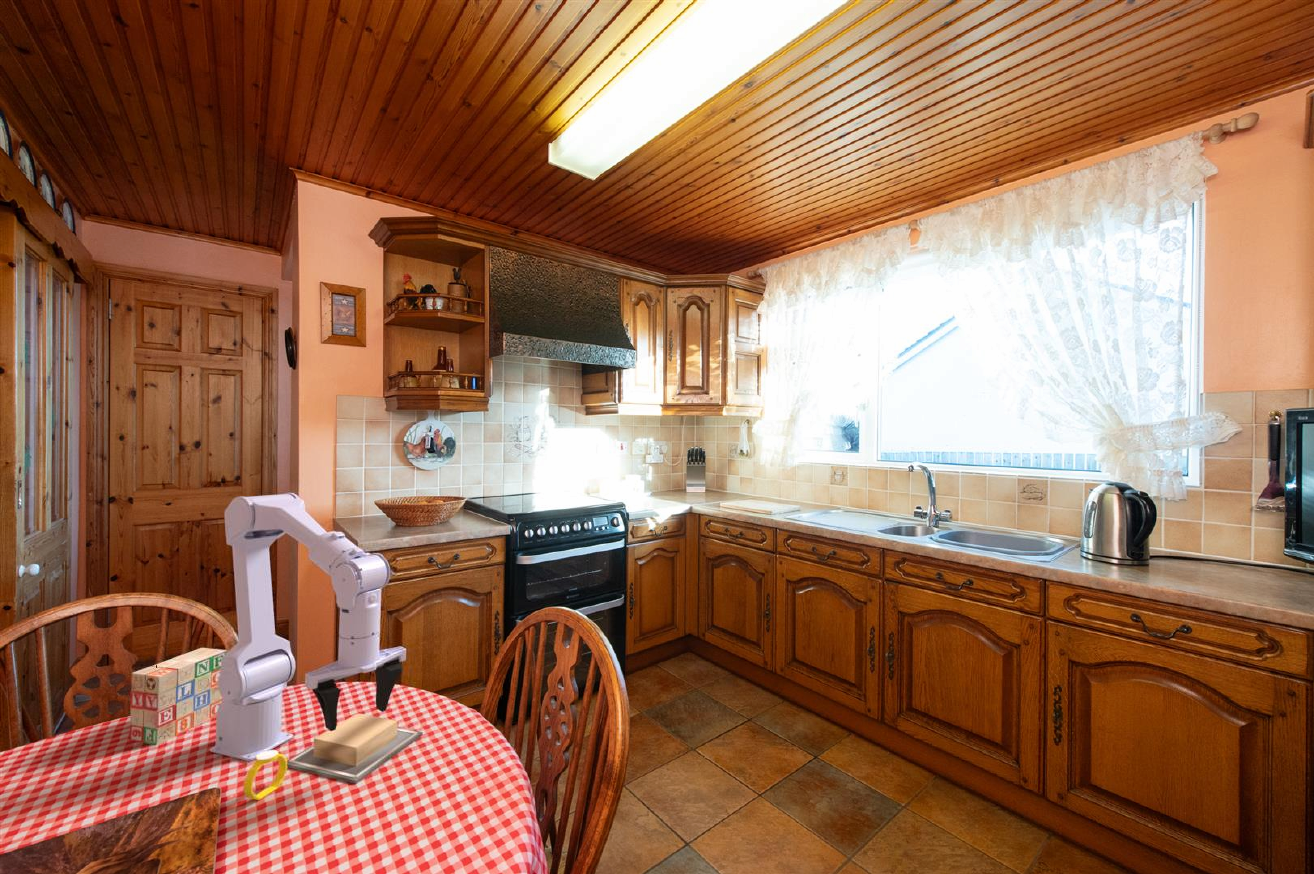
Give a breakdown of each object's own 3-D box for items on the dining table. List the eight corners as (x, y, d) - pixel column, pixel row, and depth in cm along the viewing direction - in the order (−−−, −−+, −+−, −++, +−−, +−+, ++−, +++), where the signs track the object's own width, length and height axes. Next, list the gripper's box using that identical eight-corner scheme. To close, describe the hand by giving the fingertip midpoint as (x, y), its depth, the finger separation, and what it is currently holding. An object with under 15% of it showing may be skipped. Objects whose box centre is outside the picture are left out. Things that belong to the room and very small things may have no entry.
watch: (275, 782, 85) (279, 743, 85) (289, 785, 84) (293, 746, 85) (237, 804, 79) (241, 761, 79) (252, 807, 78) (256, 765, 79)
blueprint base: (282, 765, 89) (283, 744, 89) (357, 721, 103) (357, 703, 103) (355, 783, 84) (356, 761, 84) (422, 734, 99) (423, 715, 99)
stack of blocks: (243, 688, 116) (245, 631, 116) (268, 691, 115) (269, 634, 115) (128, 741, 95) (130, 671, 95) (155, 746, 94) (158, 675, 94)
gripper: (320, 652, 77) (316, 747, 77) (416, 626, 89) (413, 709, 89) (300, 640, 82) (297, 730, 81) (395, 617, 93) (392, 696, 93)
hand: (356, 718), depth 85 cm, fingers open, 7 cm apart
